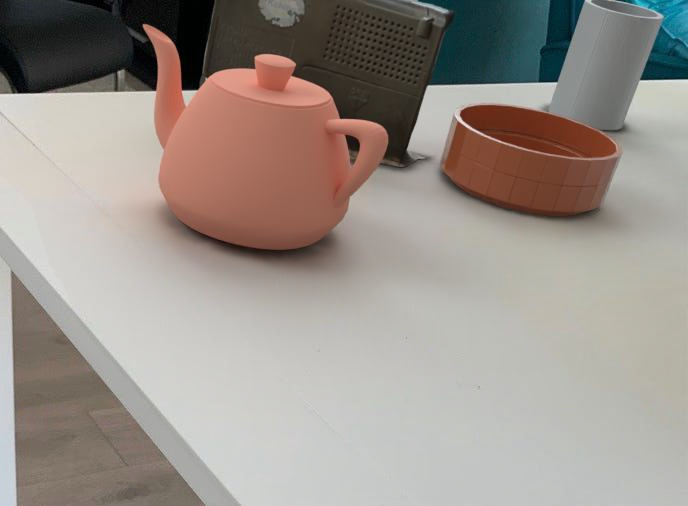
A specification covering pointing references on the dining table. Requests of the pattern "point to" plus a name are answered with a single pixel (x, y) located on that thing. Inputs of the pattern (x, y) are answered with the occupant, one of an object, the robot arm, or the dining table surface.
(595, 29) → the cup
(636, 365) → the dining table surface
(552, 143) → the bowl
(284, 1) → the radio
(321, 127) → the teapot
